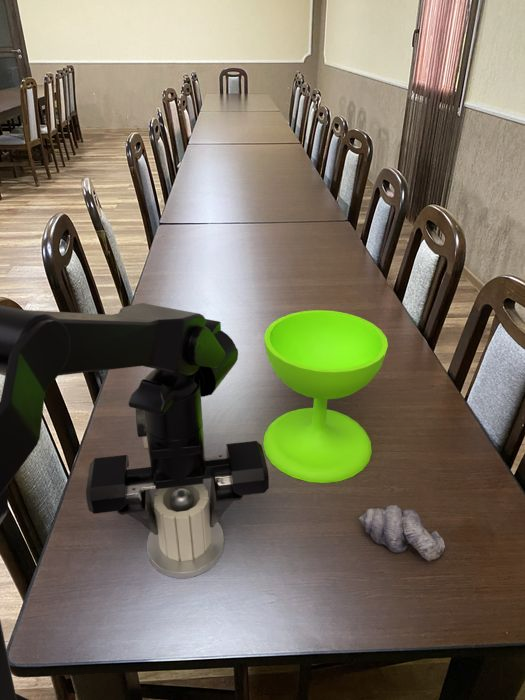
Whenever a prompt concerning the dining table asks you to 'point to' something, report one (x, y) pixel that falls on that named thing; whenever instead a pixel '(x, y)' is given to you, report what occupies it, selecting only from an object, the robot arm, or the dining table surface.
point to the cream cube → (145, 442)
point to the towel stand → (195, 567)
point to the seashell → (401, 531)
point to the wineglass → (321, 392)
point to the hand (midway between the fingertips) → (184, 527)
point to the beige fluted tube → (183, 524)
